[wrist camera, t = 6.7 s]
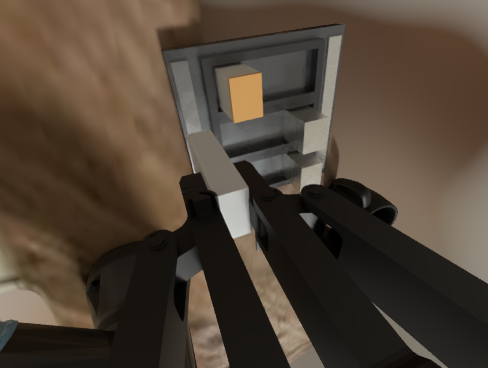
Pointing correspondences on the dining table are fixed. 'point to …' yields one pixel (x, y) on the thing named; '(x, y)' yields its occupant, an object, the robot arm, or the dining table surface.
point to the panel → (266, 99)
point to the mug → (365, 199)
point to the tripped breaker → (239, 91)
